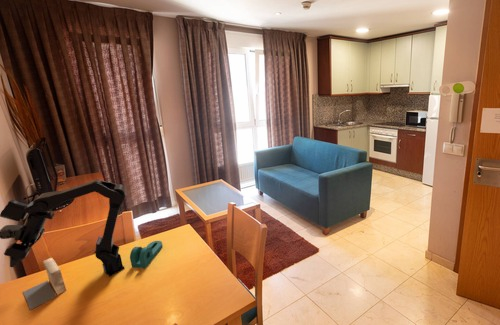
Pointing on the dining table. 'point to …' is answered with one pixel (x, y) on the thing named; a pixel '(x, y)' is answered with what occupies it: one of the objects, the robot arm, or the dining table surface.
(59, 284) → the beige streaked flat block
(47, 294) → the charcoal rubber mat
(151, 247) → the bracket
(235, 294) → the dining table surface
